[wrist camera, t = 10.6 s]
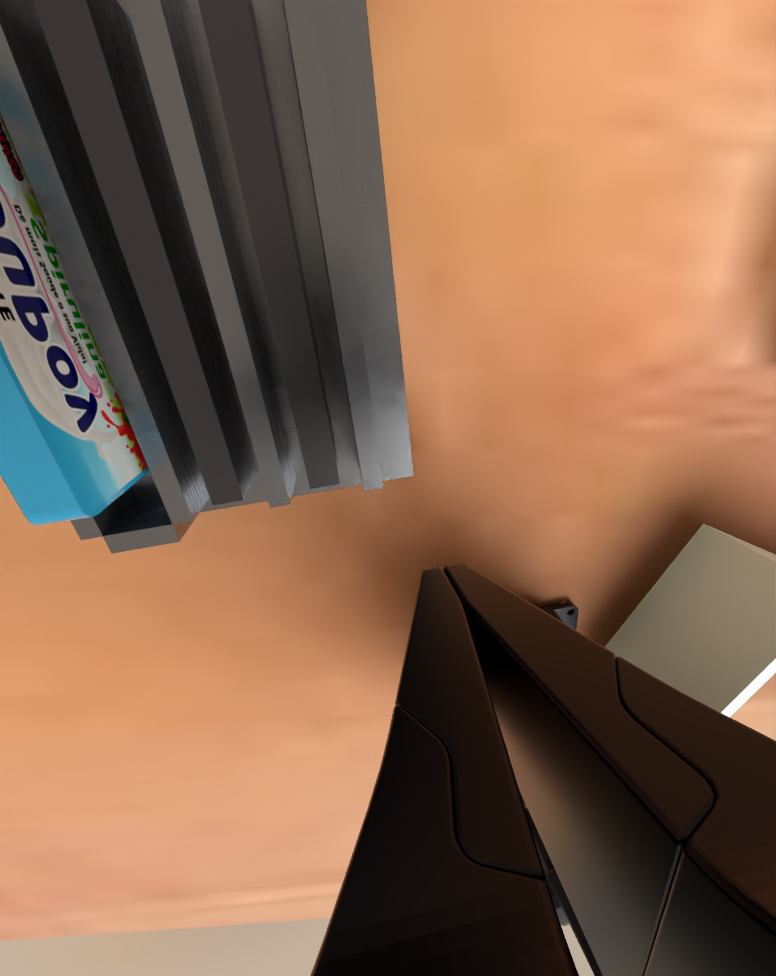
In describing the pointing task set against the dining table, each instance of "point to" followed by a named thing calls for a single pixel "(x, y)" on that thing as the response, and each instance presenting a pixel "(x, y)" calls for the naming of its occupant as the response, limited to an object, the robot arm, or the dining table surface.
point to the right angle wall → (708, 622)
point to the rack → (218, 240)
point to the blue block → (52, 374)
